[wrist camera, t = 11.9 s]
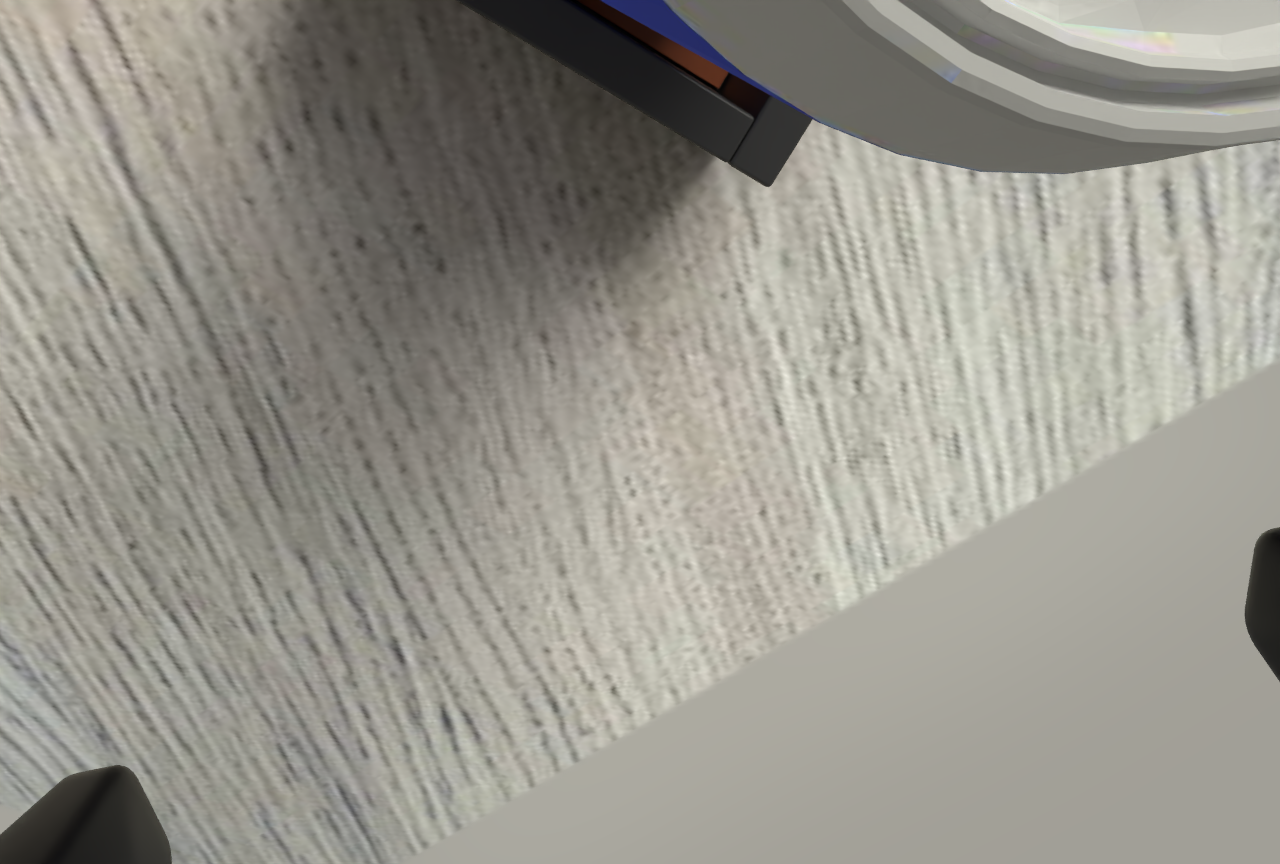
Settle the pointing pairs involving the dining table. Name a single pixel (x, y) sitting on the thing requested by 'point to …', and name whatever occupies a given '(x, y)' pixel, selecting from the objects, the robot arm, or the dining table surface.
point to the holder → (658, 79)
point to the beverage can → (1003, 73)
